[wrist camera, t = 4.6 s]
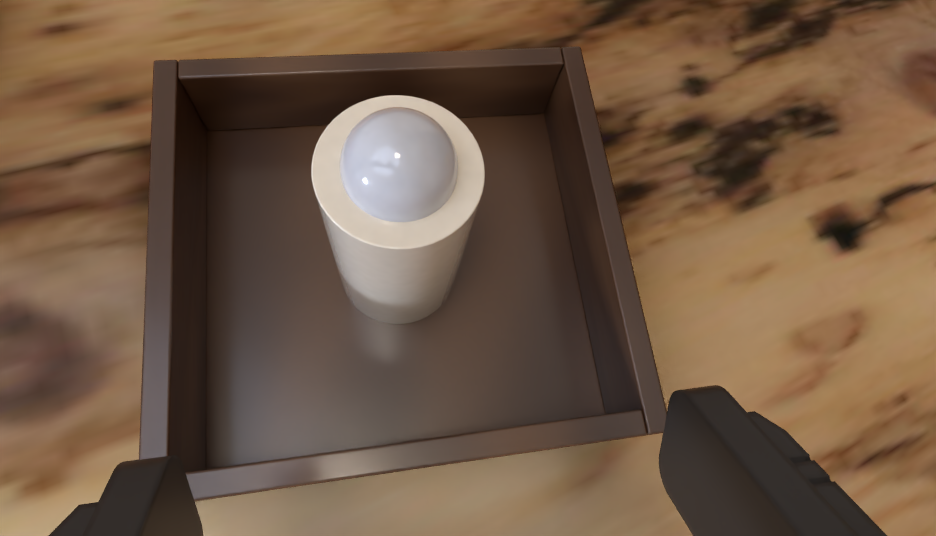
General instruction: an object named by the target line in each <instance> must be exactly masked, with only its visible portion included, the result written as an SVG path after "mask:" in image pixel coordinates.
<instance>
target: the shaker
mask: <svg viewBox="0 0 936 536" xmlns="http://www.w3.org/2000/svg"><path fill="white" fill-rule="evenodd" d="M311 177H312V184H313V188H314V191H315V195H316V198H317V201H318V205H319V208H320V212H321V215H322V218H323V222H324V225H325V228H326V232H327V235H328V238H329V242H330V245H331V248H332V252H333V255H334V259H335V262H336V265H337V269H338V272H339V275H340V279H341V282H342V285H343V288H344V291H345V293H346V295H347V296H348V298H349V300H350V301H351V302H352V303H353V305H354V306H355V307H356V308H357V309H358V310H360V311H361V312H362V313H364V314H365V315H366V316H368V317H370V318H372V319H374V320H377V321H380V322H384V323H389V324H406V323H412V322H415V321H418V320H421V319H423V318H425V317H427V316H429V315H430V314H432V313H433V312H435V311H436V310H437V309H438V308H439V307H440V306H441V305H442V304H443V303H444V302H445V300H446V299H447V297H448V295H449V294H450V292H451V289H452V286H453V284H454V280H455V277H456V274H457V271H458V268H459V265H460V262H461V259H462V255H463V252H464V249H465V246H466V243H467V240H468V237H469V234H470V230H471V227H472V224H473V221H474V218H475V215H476V212H477V208H478V205H479V202H480V199H481V196H482V193H483V188H484V183H485V168H484V161H483V157H482V153H481V150H480V148H479V145H478V143H477V141H476V140H475V138H474V136H473V134H472V133H471V132H470V130H469V129H468V128H467V126H466V125H465V124H464V123H463V122H462V121H461V120H460V119H459V118H457V117H456V116H455V115H454V114H452V113H451V112H450V111H448V110H446V109H445V108H443V107H441V106H439V105H437V104H435V103H433V102H430V101H427V100H425V99H421V98H417V97H412V96H404V95H388V96H380V97H375V98H371V99H368V100H365V101H362V102H359V103H357V104H355V105H353V106H351V107H349V108H348V109H346V110H345V111H343V112H342V113H340V114H339V115H338V116H337V117H336V118H334V119H333V120H332V122H331V123H330V124H329V125H328V126H327V127H326V129H325V130H324V132H323V133H322V135H321V136H320V138H319V140H318V142H317V144H316V147H315V150H314V153H313V158H312V164H311Z"/></svg>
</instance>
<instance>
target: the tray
mask: <svg viewBox="0 0 936 536" xmlns="http://www.w3.org/2000/svg"><path fill="white" fill-rule="evenodd" d="M388 95H404V96H412V97H417V98H421V99H425V100H427V101H430V102H433V103H435V104H437V105H439V106H441V107H443V108H445V109H446V110H448V111H450V112H451V113H452V114H454V115H455V116H456V117H457V118H459V119H460V120H461V121H462V122H463V123H464V124H465V125H466V126H467V128H468V129H469V130H470V132H471V133H472V134H473V136H474V138H475V140H476V141H477V143H478V145H479V148H480V150H481V153H482V157H483V161H484V168H485V183H484V188H483V193H482V196H481V199H480V202H479V205H478V208H477V212H476V215H475V218H474V221H473V224H472V227H471V230H470V234H469V237H468V240H467V243H466V246H465V249H464V252H463V255H462V259H461V262H460V265H459V268H458V271H457V274H456V277H455V280H454V284H453V286H452V289H451V292H450V294H449V295H448V297H447V299H446V300H445V302H444V303H443V304H442V305H441V306H440V307H439V308H438V309H437V310H436V311H435V312H433V313H432V314H430V315H429V316H427V317H425V318H423V319H421V320H418V321H415V322H412V323H406V324H389V323H384V322H380V321H377V320H374V319H372V318H370V317H368V316H366V315H365V314H364V313H362V312H361V311H360V310H358V309H357V308H356V307H355V306H354V305H353V303H352V302H351V301H350V300H349V298H348V296H347V295H346V293H345V291H344V288H343V285H342V282H341V279H340V275H339V272H338V269H337V265H336V262H335V259H334V255H333V252H332V248H331V245H330V242H329V238H328V235H327V232H326V228H325V225H324V222H323V218H322V215H321V212H320V208H319V205H318V201H317V198H316V195H315V191H314V188H313V184H312V177H311V164H312V158H313V153H314V150H315V147H316V144H317V142H318V140H319V138H320V136H321V135H322V133H323V132H324V130H325V129H326V127H327V126H328V125H329V124H330V123H331V122H332V120H333V119H334V118H336V117H337V116H338V115H339V114H340V113H342V112H343V111H345V110H346V109H348V108H349V107H351V106H353V105H355V104H357V103H359V102H362V101H365V100H368V99H371V98H375V97H380V96H388ZM666 416H667V411H666V406H665V402H664V398H663V394H662V389H661V385H660V381H659V377H658V373H657V368H656V364H655V360H654V356H653V351H652V347H651V343H650V339H649V335H648V330H647V326H646V322H645V318H644V313H643V309H642V305H641V301H640V297H639V292H638V288H637V284H636V280H635V275H634V271H633V267H632V263H631V259H630V254H629V250H628V246H627V242H626V237H625V233H624V229H623V225H622V221H621V216H620V212H619V208H618V204H617V199H616V195H615V191H614V187H613V183H612V178H611V174H610V170H609V166H608V161H607V157H606V153H605V149H604V145H603V140H602V136H601V132H600V128H599V123H598V119H597V115H596V111H595V107H594V102H593V98H592V94H591V90H590V85H589V81H588V77H587V73H586V69H585V64H584V60H583V56H582V52H581V48H580V47H563V48H559V47H556V48H526V49H496V50H467V51H437V52H407V53H377V54H347V55H317V56H287V57H257V58H227V59H197V60H179V62H178V61H177V60H160V61H154V70H153V97H152V124H151V150H150V177H149V204H148V231H147V257H146V284H145V311H144V338H143V364H142V391H141V418H140V445H139V460H141V459H148V458H156V457H164V456H171V455H176V456H178V457H179V458H180V460H181V461H182V464H183V467H184V470H185V473H186V476H187V479H188V483H189V486H190V489H191V492H192V495H193V498H194V501H200V500H207V499H214V498H221V497H227V496H234V495H241V494H248V493H255V492H262V491H269V490H275V489H282V488H289V487H296V486H303V485H310V484H316V483H323V482H330V481H337V480H344V479H351V478H358V477H364V476H371V475H378V474H385V473H392V472H399V471H405V470H412V469H419V468H426V467H433V466H440V465H446V464H453V463H460V462H467V461H474V460H481V459H488V458H494V457H501V456H508V455H515V454H522V453H529V452H535V451H542V450H549V449H556V448H563V447H570V446H577V445H583V444H590V443H597V442H604V441H611V440H618V439H624V438H631V437H638V436H645V435H652V434H659V433H663V432H664V427H665V421H666Z"/></svg>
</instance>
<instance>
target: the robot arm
mask: <svg viewBox="0 0 936 536" xmlns="http://www.w3.org/2000/svg"><path fill="white" fill-rule="evenodd" d="M809 456H810V455H809V454H808V453H807V452H806V451H805V450H804V449H803V448H802V447H801V446H800V445H799V444H798V443H797V442H796V441H795V440H794V439H793V438H792V437H791V436H790V435H789V434H788V433H787V432H786V431H785V430H784V429H782V428H781V427H779V426H777V425H776V424H774V423H772V422H771V421H769V420H768V419H766V418H764V417H763V416H761V415H760V414H758V413H756V412H755V411H754V412H746V411H745V410H744V409H743V408H742V407H741V406H740V405H739V403H738V402H737V401H736V400H735V399H734V398H733V397H732V396H731V395H730V394H729V393H728V392H727V391H726V390H725V389H724V388H723V387H721V386H717V385H715V386H707V387H699V388H692V389H684V390H677V391H675V392H673V394H672V395H671V397H670V400H669V405H668V411H667V416H666V421H665V427H664V432H663V438H662V443H661V448H660V454H659V469H660V474H661V478H662V482H663V485H664V487H665V489H666V492H667V493H668V495H669V497H670V499H671V500H672V502H673V503H674V505H675V507H676V508H677V510H678V512H679V513H680V515H681V516H682V518H683V520H684V521H685V523H686V525H687V526H688V528H689V529H690V531H691V533H692V534H693V536H887V535H886V534H885V533H884V532H883V531H882V530H881V529H880V528H879V527H878V526H877V525H876V524H875V523H874V522H873V521H872V520H871V519H870V518H869V516H868V515H867V514H866V513H865V512H864V511H863V510H862V509H861V508H860V507H859V506H858V505H857V504H856V503H855V502H854V501H853V500H852V499H851V498H850V497H849V496H848V495H847V494H846V493H845V492H844V491H843V490H842V488H841V487H840V486H839V485H838V484H837V483H836V482H835V481H834V482H831V481H830V478H829V475H828V474H827V473H826V472H825V471H824V470H823V469H822V468H821V467H820V466H819V465H818V464H817V463H816V462H815V461H814V460H813V461H811V460H810V457H809ZM49 536H203V530H202V524H201V521H200V517H199V514H198V511H197V508H196V505H195V502H194V498H193V495H192V492H191V489H190V486H189V483H188V479H187V476H186V473H185V470H184V467H183V464H182V461H181V460H180V458H179V457H178V456H176V455H171V456H164V457H156V458H148V459H141V460H133V461H126V462H122V463H120V464H119V465H117V467H116V468H115V469H114V471H113V473H112V475H111V477H110V479H109V481H108V483H107V485H106V487H105V489H104V492H103V494H102V496H101V498H100V500H99V502H96V503H89V504H82V505H78V506H77V507H76V508H75V510H74V511H73V512H72V513H71V514H70V515H69V516H68V517H67V518H66V519H65V520H64V521H63V522H62V523H61V524H60V525H59V526H58V527H57V528H56V529H55V530H54V531H53V532H52V533H51V534H50V535H49Z"/></svg>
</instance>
